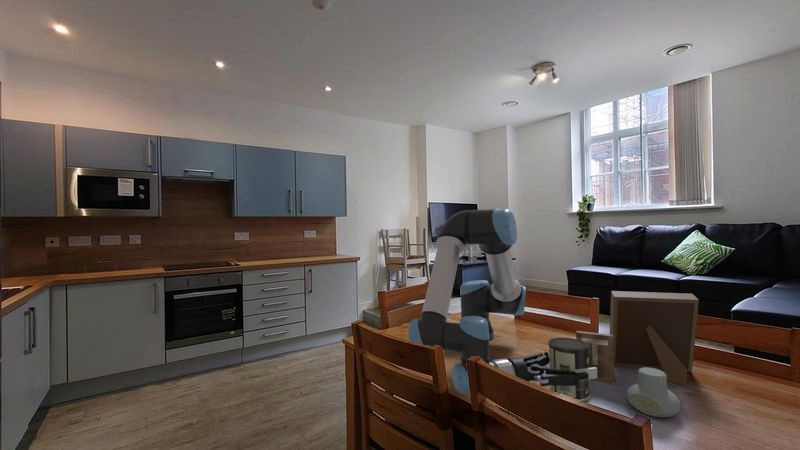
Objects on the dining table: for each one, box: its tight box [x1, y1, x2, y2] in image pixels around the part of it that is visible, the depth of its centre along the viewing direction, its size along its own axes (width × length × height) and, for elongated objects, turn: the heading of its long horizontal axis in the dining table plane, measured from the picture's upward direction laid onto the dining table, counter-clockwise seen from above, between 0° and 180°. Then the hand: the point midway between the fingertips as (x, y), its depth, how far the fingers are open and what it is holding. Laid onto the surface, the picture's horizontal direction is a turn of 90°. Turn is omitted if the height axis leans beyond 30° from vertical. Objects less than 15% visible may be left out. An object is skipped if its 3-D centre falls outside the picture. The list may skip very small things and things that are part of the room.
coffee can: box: [547, 337, 591, 402], centre depth 100 cm, size 10×10×14 cm
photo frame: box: [609, 290, 700, 386], centre depth 111 cm, size 15×22×25 cm
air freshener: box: [626, 367, 681, 418], centre depth 89 cm, size 11×8×10 cm
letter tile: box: [575, 330, 616, 385], centre depth 109 cm, size 10×5×14 cm, turn 60°
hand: (582, 364), depth 100 cm, fingers closed on coffee can, 10 cm apart
